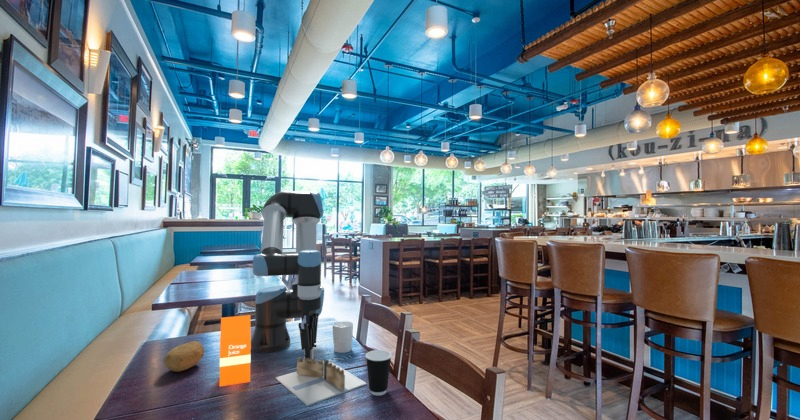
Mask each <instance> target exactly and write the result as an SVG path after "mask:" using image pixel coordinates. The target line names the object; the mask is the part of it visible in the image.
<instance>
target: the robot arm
mask: <svg viewBox="0 0 800 420" xmlns="http://www.w3.org/2000/svg"><path fill="white" fill-rule="evenodd" d="M261 216H262V218H263V227H262V236H261V237H262V238H261V245H260V246H261V247H260V253H258V254H254V256H253V257H252V273H253V275H254V276H256V277H272V276H274V277H276V276H295V281H294V282H293V283H292V284H291V288H289V289H288V287H287V286H286V285H271V286H269V287H268V286H267V287H263V288H262V289H260V290H258V291H257V292H256V294H255V302H254V305H255V314H254V315H255V318H254V319H255V322H254V323H255V325H254V330H253V333H252V335H251V351H253V352H255V353H274V352H279V351H282V350H284V349H285V350H286V348H287V349H288V347H289V346H290V345H291V337H290V334H289V330H288V327H287V319H289V320H290V319H301V322H299V323H298V329H299V337H300V338H299V339H300V346H301V348H300V350H303V352H304V357H303V358H304V359H303V361H305V359H306V358H309V362H312V359H315V357H314V355H315V353H314V348H316V347H317V334H318V323H319V316H320V315H321V314H322V311H323V306H324V299H325V288H324V287H322V286H321V285H322V281H321V280H322V278H321V277H322V274H321V273H322V253H321V251H320V250H317V249H318V248H317V225H318V224H319V223H320V221H321V219H323V217H324V206H323V199H322V196H321V193H320V192H318V191H311V190H309V191H308V190H307V191H306V190H305V191H304V190H294V191H293V190H281V191H279V192H276V193H274V194H273V195H271V196H270V197H269V198H268V199H267V200H266V201H265V203H264V205H263V206H262V212H261ZM286 218H292V223H293V224H295V253H283V247H284V243H283V242H284V222H285V219H286Z"/></svg>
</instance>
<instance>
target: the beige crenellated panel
mask: <svg viewBox="0 0 800 420" xmlns="http://www.w3.org/2000/svg"><path fill="white" fill-rule="evenodd" d="M296 371H297V374H300V375H307V376H314V377H321V378H322V377H323V376H324V360H323V359H318V362H317V359H316V358H314V359H312V362H309V358H306V359H305V361H304V360H303V357H302V356H299V357H298V358H297V361H296Z"/></svg>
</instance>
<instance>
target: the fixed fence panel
mask: <svg viewBox="0 0 800 420" xmlns="http://www.w3.org/2000/svg"><path fill="white" fill-rule="evenodd" d="M329 362H330V363H329ZM331 362H332V361H329V360H328V359H325V360H323V364H324V379H326V380H327V381H328V382H330V383H331V384H333V385H334V386H336V387H337V388H338V389H340V390H344V389H345V375H344V370H345V369H344V368H342V370H340V368H339V367H340V366H339V367H337V368H336V365H337V364H336V365H332V363H333V362H332V363H331ZM343 369H344V370H343Z"/></svg>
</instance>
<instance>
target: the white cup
mask: <svg viewBox="0 0 800 420" xmlns="http://www.w3.org/2000/svg"><path fill="white" fill-rule="evenodd" d="M353 331H354V323H353V322H351V321H347V320H345V321H344V320H343V321H336V322H334V323H332V340H333V351H334V352H335V353H338V354H339V353H340V354H341V353H343V354H344V353H348V352H350V351H352V346H353V345H352V343H353V333H354V332H353Z"/></svg>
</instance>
